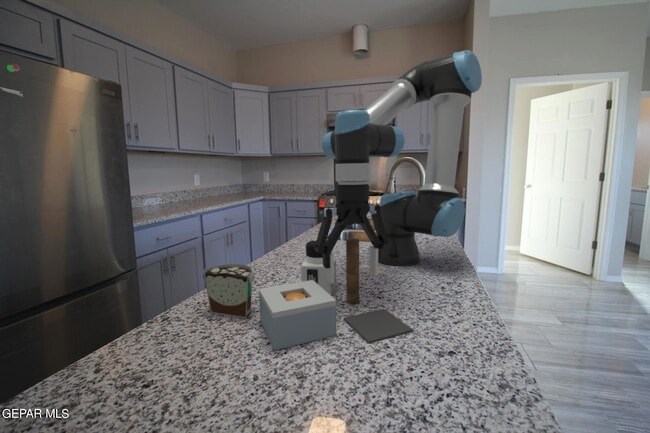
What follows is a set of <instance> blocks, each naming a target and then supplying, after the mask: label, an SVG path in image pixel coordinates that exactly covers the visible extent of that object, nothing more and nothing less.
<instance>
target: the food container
mask: <svg viewBox="0 0 650 433" xmlns="http://www.w3.org/2000/svg"><path fill="white" fill-rule="evenodd" d="M201 276H202V279H204V281H205V286H206V287H205V288H206V293H207V295H206V296H207V300H208V306H209V312H210V314H215V315H222V316H228V317H232V318H233V317H235V318H239V319H248V318H249V317H250V315H251V313H252V290H253V289H252V286H253V285H252V284H253V283H254V281H255V279H256V277H255V273H254V270H253V269H252V267H251V266H250V265H247V264H242V263H225V264H218V265H213V266H210V267H206V268H204V269H203V271H202V275H201Z"/></svg>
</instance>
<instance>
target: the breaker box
mask: <svg viewBox="0 0 650 433" xmlns="http://www.w3.org/2000/svg"><path fill="white" fill-rule="evenodd" d="M291 293H302V294H305V296H306V298H303V299H297V300H292V301H286V300H285V297H286V295H288V294H291ZM258 301H259V302H258V303H259V318H260V323H261V325H262V327H263V330H264V332H265V333H266V336H267V338H268V340H269V342H270V344H271V346H272V349H273V350H274V351H278V350H282V349H285V348H291V347H296V346H298V345H303V344H307V343H310V342H314V341H315V342H316V341H318V340H323V339H326V338H331V337H335V336H337V299H336V298H334V297H333V296H332V295H329V294H328V293H327V292H326V291H325V290H324V289H323V288H321V287H320V286H319V285H318V284H317V283H316V282H315V281H314V280H310V281H304V282H301V281H299V282H298V281H297V282H292V283H287V284H281V285H275V286H269V287H263V288H258Z"/></svg>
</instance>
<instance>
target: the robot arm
mask: <svg viewBox="0 0 650 433" xmlns="http://www.w3.org/2000/svg"><path fill="white" fill-rule="evenodd" d="M481 69H482V68H481V65H480V61H479V58H478V57H477V55H476V54H475V53H474V52H473V51H472V50H462V51H458V52H456V51H454V52H453V53H452V54H451V53H450V54H447V55H445V56H440V57H438V58H437V57H436V58H433V59H431V60H426V61H423V62H421V63H419V64H417V65H415V66H414V67H411V68H410V69H409V70H407V71H406V72H405V73H403V74H402V75H401V76H400V77H398V78H397V79H396V80H394V81H393V82H392V83H391V84H390V86H389V88H388V90H387V91H386V92H385V93H384V94H382V95H381V96H380V97H378V98H377V99H375V101H374V102H372V103H371V104H370V105H369V106H367V107H366V108H365V109H364V110H363V109H347V110H342V111H339V112H338V113H337V114H336V116H335V118H334V130H332V131H330V132H327V133H326V134H325V135H324V136H323V138H322V140H321V148H322V151H323V153H324V155H325V157H327V158H328V159H333V160H334V159H335V182H337V184H336V185H335V202H336V204H335V206H334V207H330V208H329V207H324V208H323V209H322V219H321V223H320V226H319V231H318V234H317V238H316V239H315V240H316V244H315V247H314V249H315V250H316V251H317V252H319V253H322V254H323V266H324V268H326V273H327V280H328V281H329V282H330V283H335V282H334V258H335V254H333V253H332V252H333V250H334V248H335V246H336V245H337V242H338V240H339V239H340V236H341V235H342V233H343V231H344V230H345V229H346V228H347V226H352V225H360V226H361V228H362V230H363V232H364V233H365V235H366V237H367V238H368V239H369V241H370V243H371V245H372V246H369V249H368V250H369V251H368V252H369V256H368V257H369V259H368V262H369V264H368V265H369V270H368V271H369V272H368V273H369V274H371V275H373V276H376V277H377V276H379V263H380V264H383V265H384V264H385V265H389V266H411V265H416V264H418V263H419V262H420V251H419V249H418V245H417V242H416V238H415V234H421V235H422V234H423V235H428V236H429V235H430V236H434V237H442V238H443V237H445V238H449V237H451V236H453V235H456V233H457V232H458V231H459V229H460V228H461V226H462V224H463V221H464V217H465V214H466V213H465V212H466V208H465V202H464V200H462V199H461V198H459V194H460V193H459V191H458V190H457V189H456V187H455V182H456V176H457V175H456V174H457V168H458V160H459V152H460V143H461V135H462V127H463V120H464V119H463V118H464V114H465V113H464V111H465V107H466V106H467V105H469V103H471V101H472V100H471V99H472V94H474V93H476V92H478V91H479V90H480V88H481V87H482V80H483V79H482V78H483V76H482V70H481ZM427 101H428V102H429V103H430V104H431V106H432V107H433V112H432V118H431V119H432V120H431V126H430V135H429V142H428V149H427V150H428V151H427V160H426V167H425V176H424V183H423V185H422V186H421V187H420V188H419V189H418V192H417V193H416V191H414V190H411V191H402V192H395V193H394V192H393V193H385V194H383V195H381V197H380V199H379V200H380V201H379V204H374V203H373V204H371V205H370V204H369V200H370V185H369V184H368V182H370V158H391V157H396V156H398V155H399V154H400V153H401V152H402V151H403V149H404V147H405V135H404V133H403V131H402V129H401V128H399V127H397V126H393V125H391V124H389V123H390V122H391V121H392V120H394V119H395V118H396V117H397V116H398V115H399V114H400V113H401V112H403V111H404V110H409V109H411V108H412V107H413V106H414V105H417V104H419V103H422V102H427ZM368 214H370V216H371V220H372V223H373V226H374V228H373V227H372V225H371V222H370V220H369V218H368V217H367V216H368ZM335 215H337V219H336V220H335V223H334V225H333V228H332V230H331V232H330V229H331V226H332V222H333V218H334V217H335Z"/></svg>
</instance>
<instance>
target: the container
mask: <svg viewBox="0 0 650 433" xmlns="http://www.w3.org/2000/svg"><path fill="white" fill-rule="evenodd" d="M316 240H317V239H312V240H310V241H308V242H306V243H305V258H306V259H305V260H304V262H303V263H302V264H301V265H300V280H301V281H300V282H304V281H310V280H314V281H315V282H316V283H317V284H318V285H319V286H320V287H321V288H323V289H324V290H325V291H326V292H327V293H328V294H329V295H331V296H332V294H333V292H334V290H335V288H336V285H337V259H336V257H334V282H335V283H330V282H329V281H328V280H327V273H326V268H324V266H323V254H322V253H319V252H317V251H316V250H315V249H314V247H315V244H316Z"/></svg>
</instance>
